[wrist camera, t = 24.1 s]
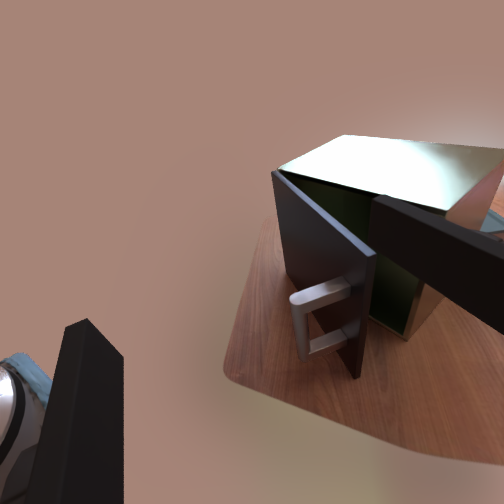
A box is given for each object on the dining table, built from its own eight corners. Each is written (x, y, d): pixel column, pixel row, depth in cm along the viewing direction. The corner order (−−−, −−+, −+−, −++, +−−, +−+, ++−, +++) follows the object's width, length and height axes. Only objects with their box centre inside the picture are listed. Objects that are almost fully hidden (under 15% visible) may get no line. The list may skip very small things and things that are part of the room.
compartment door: (310, 398, 36) (297, 282, 22) (256, 282, 57) (231, 183, 42) (360, 377, 37) (377, 253, 23) (290, 270, 57) (276, 170, 43)
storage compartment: (407, 342, 40) (448, 210, 26) (290, 270, 58) (276, 168, 44) (459, 279, 47) (514, 149, 33) (341, 232, 65) (343, 134, 51)
